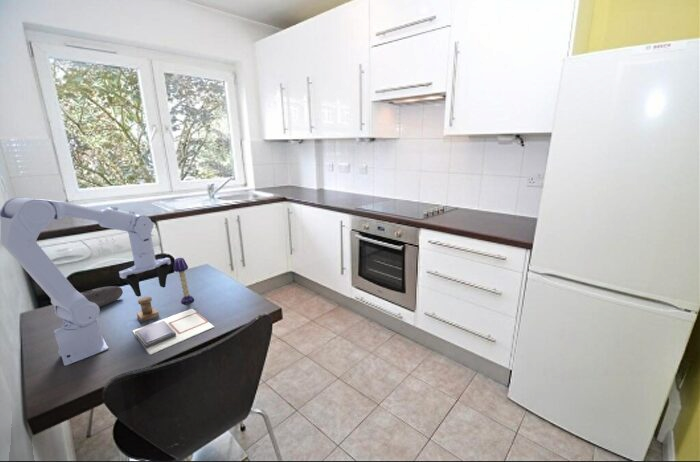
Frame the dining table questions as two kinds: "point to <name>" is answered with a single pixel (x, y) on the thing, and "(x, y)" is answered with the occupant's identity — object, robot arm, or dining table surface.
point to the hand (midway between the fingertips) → (150, 291)
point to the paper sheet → (180, 328)
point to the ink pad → (155, 334)
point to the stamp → (147, 310)
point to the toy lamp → (183, 279)
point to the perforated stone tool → (103, 295)
